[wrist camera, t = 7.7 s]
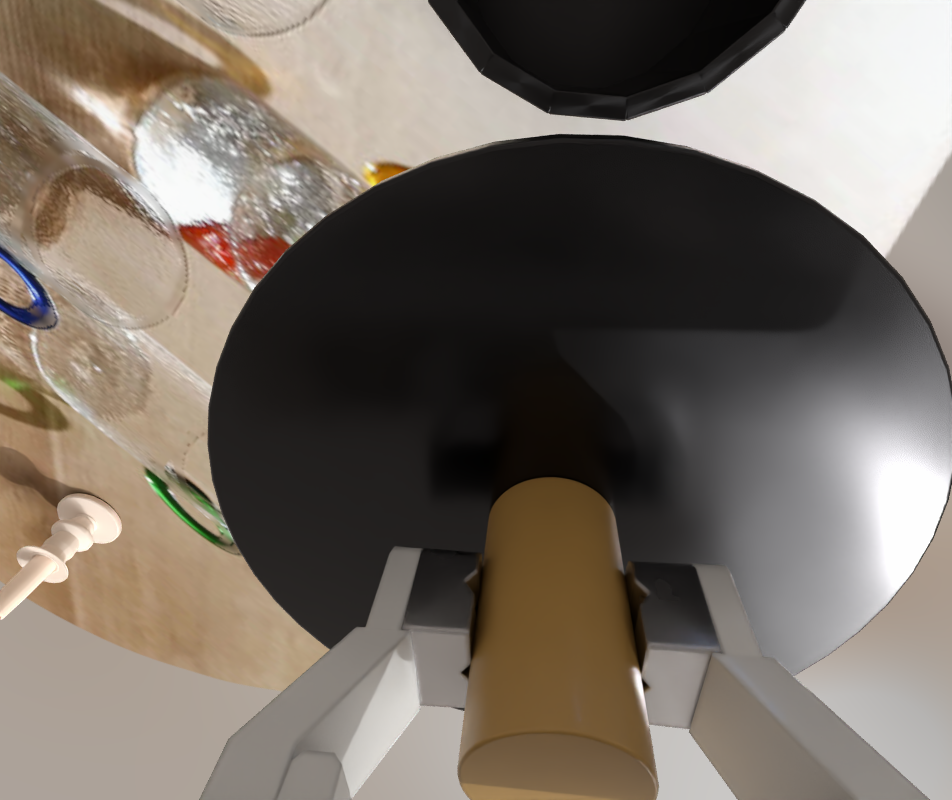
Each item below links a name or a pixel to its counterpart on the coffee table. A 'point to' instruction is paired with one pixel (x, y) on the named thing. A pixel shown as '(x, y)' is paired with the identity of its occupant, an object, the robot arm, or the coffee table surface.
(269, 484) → the lid
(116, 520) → the candlestick
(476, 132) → the coffee table surface
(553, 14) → the pot
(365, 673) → the robot arm
